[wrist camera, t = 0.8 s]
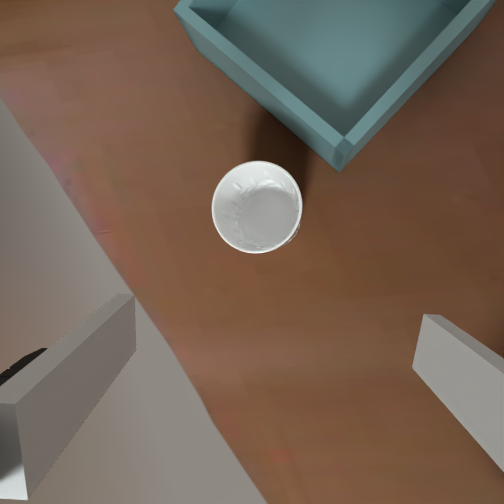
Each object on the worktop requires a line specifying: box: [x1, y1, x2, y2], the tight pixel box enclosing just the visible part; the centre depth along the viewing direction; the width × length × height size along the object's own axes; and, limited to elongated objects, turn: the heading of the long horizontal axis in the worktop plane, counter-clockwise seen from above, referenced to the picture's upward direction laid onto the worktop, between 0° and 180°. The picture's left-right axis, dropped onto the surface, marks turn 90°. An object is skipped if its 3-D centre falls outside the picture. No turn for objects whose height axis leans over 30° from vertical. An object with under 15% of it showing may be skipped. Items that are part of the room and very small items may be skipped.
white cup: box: [212, 161, 302, 253], centre depth 29 cm, size 8×8×10 cm
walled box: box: [173, 0, 497, 172], centre depth 30 cm, size 24×20×6 cm
